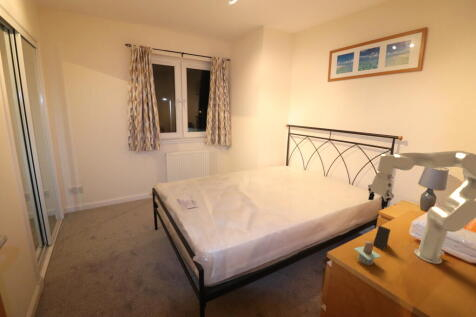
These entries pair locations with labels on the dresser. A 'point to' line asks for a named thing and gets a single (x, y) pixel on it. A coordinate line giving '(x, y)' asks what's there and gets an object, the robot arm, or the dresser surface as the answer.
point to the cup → (365, 260)
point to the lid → (367, 251)
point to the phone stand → (382, 237)
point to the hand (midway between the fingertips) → (377, 203)
